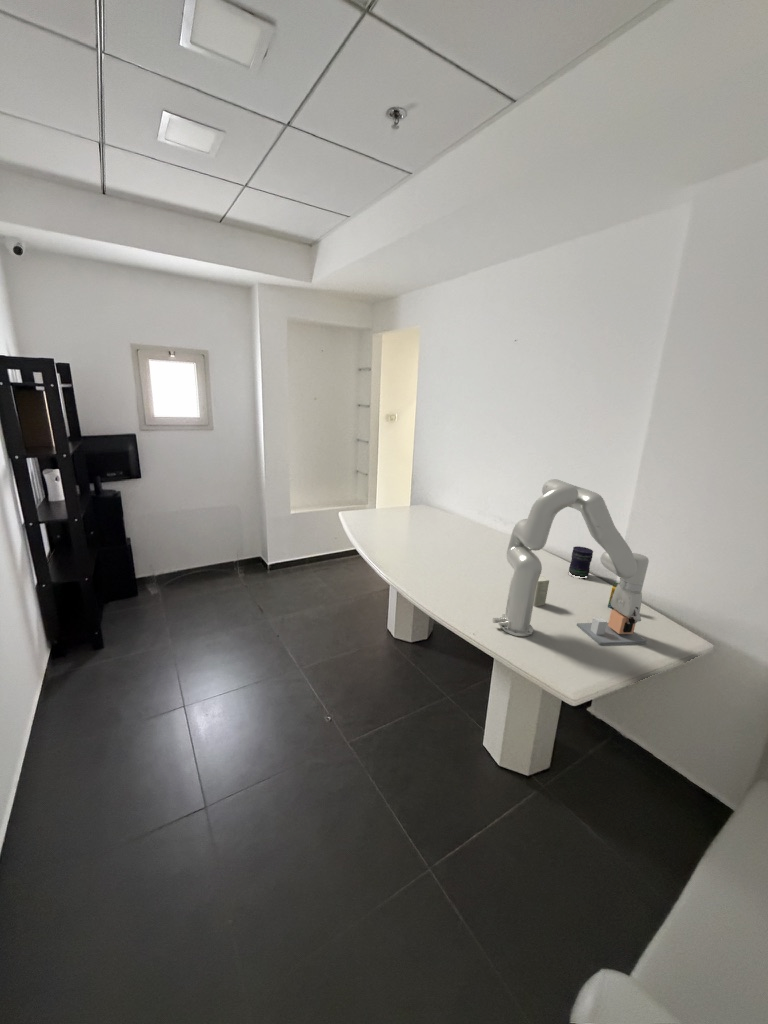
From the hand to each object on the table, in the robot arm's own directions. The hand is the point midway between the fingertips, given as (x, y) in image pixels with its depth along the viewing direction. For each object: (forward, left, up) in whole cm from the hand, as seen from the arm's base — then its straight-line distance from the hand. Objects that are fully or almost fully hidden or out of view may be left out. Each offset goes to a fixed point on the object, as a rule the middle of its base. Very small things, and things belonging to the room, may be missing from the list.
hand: (620, 627), depth 158 cm
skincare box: (-21, +26, -3) cm, 34 cm away
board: (-4, 0, -3) cm, 5 cm away
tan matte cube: (0, 0, -1) cm, 1 cm away
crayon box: (+15, +20, -3) cm, 25 cm away
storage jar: (+21, +57, -3) cm, 61 cm away
